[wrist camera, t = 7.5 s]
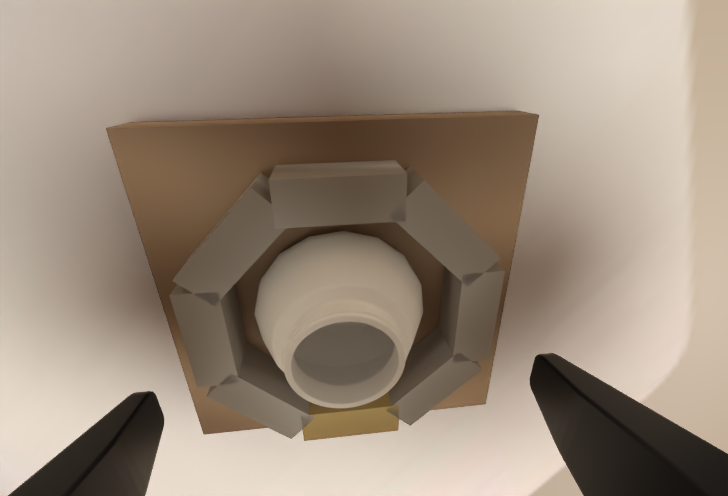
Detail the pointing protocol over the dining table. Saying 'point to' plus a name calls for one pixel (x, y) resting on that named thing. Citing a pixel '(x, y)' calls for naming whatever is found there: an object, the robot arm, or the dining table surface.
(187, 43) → the dining table surface
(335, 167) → the hub plate
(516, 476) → the dining table surface
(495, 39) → the dining table surface
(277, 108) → the dining table surface
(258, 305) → the white jar
